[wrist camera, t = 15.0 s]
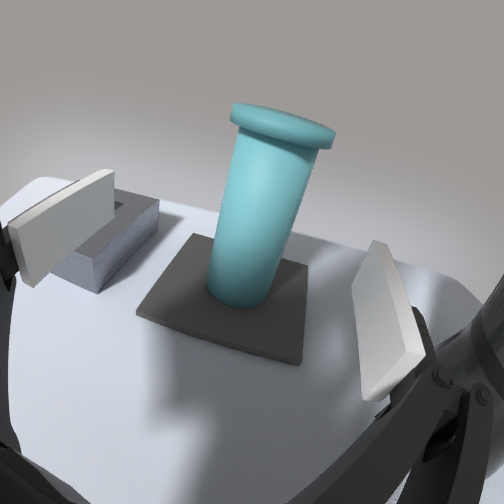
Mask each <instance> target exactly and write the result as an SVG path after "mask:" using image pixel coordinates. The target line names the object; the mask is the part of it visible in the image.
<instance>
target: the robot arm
mask: <svg viewBox="0 0 504 504" xmlns="http://www.w3.org/2000/svg"><path fill="white" fill-rule="evenodd" d="M114 218H115V215H114V171H113V170H108V169H102V170H100V171H98V172H96V173H94V174H92V175H90V176H88V177H86V178H84V179H82V180H80V181H78V182H76V183H74V184H73V185H71V186H69V187H67V188H65V189H64V190H62V191H60V192H58V193H56V194H55V195H53V196H51V197H50V198H48V199H46V200H45V201H43V202H41V203H40V204H38V205H36V206H35V207H33V208H32V209H30V210H28V211H27V212H25V213H24V214H22V215H21V216H19V217H18V218H16V219H15V220H13V221H12V222H10V223H9V224H7V226H6V227H4V228H3V229H2V226H1V222H0V504H90V503H89V502H88V501H87V500H86V499H84V498H83V497H82V496H81V495H80V494H79V493H78V492H77V491H76V490H74V489H73V488H72V487H71V486H70V485H68V484H66V483H65V482H63V481H62V480H60V479H59V478H57V477H56V476H54V475H53V474H51V473H50V472H48V471H47V470H45V469H44V468H42V467H40V466H39V465H37V464H35V463H34V462H32V461H31V460H29V459H27V458H26V457H24V456H23V455H22V454H21V448H20V444H19V441H18V438H17V436H16V434H15V432H14V430H13V428H12V426H11V422H10V414H9V399H8V350H9V335H10V324H11V315H12V307H13V300H14V293H15V287H16V277H15V274H16V273H17V272H18V271H19V272H20V275H21V278H22V281H23V282H24V283H26V284H27V285H29V286H31V287H32V288H34V287H35V286H36V285H37V284H38V283H39V282H40V281H41V280H42V279H43V278H44V277H45V276H46V275H47V274H49V273H50V272H51V271H52V270H53V269H54V268H55V267H56V266H57V265H58V264H59V263H61V262H62V261H63V260H64V259H65V258H66V257H67V256H69V255H70V254H71V253H72V252H73V251H74V250H75V249H77V248H78V247H79V246H80V245H81V244H83V243H84V242H85V241H86V240H87V239H89V238H90V237H91V236H92V235H93V234H95V233H96V232H97V231H98V230H100V229H101V228H102V227H103V226H105V225H106V224H107V223H108V222H110V221H111V220H112V219H114ZM351 289H352V296H353V304H354V312H355V320H356V329H357V338H358V348H359V360H360V373H361V389H362V400H367V401H375V402H381V401H382V400H383V399H384V398H385V397H386V396H387V395H388V394H389V393H390V401H391V403H389V404H388V405H387V406H386V407H385V408H384V409H383V410H382V411H380V412H379V413H378V414H377V415H376V416H375V418H376V419H375V420H374V421H373V423H372V424H371V425H370V426H369V427H368V428H367V429H366V431H365V432H364V433H363V434H362V435H361V436H360V437H359V438H358V439H357V440H356V441H355V442H354V443H353V445H352V446H351V447H350V448H349V449H348V450H347V451H346V452H345V453H344V454H343V455H342V456H341V457H340V458H339V459H338V460H337V461H336V462H334V463H333V464H332V465H331V466H330V467H329V468H328V469H327V470H326V471H325V472H324V473H323V474H322V475H320V476H319V477H318V478H317V479H316V480H315V481H314V482H312V483H311V484H310V485H309V486H308V487H306V488H305V489H304V490H303V491H302V492H300V493H299V494H298V495H297V496H295V497H294V498H293V499H292V500H290V501H289V502H288V503H286V504H385V503H386V502H387V500H388V499H389V498H390V497H391V495H392V494H393V493H394V491H395V490H396V489H397V487H398V486H399V485H400V483H401V482H402V481H403V479H404V478H405V476H406V475H407V473H408V472H409V470H410V469H411V471H410V473H409V476H408V478H407V481H406V483H405V486H404V488H403V490H402V492H401V495H400V497H399V499H398V501H397V503H396V504H479V501H480V497H481V493H482V489H483V485H484V480H485V479H487V478H488V477H490V476H491V475H492V474H494V473H495V472H496V471H497V470H498V469H499V468H500V467H501V466H502V465H503V464H504V275H503V276H502V278H501V280H500V281H499V283H498V284H497V286H496V288H495V289H494V291H493V292H492V294H491V295H490V297H489V298H488V300H487V301H486V302H485V304H484V305H483V307H482V308H481V310H480V311H479V312H478V314H477V315H476V316H475V318H474V319H473V320H472V322H471V323H470V324H469V325H468V326H467V327H465V328H464V329H462V330H461V331H459V332H458V333H456V334H455V335H453V336H452V337H450V338H448V339H447V340H445V341H444V342H442V343H440V344H439V345H437V346H436V347H434V348H433V344H432V341H431V338H430V337H429V332H428V329H426V328H427V326H426V323H425V320H424V317H423V316H422V314H421V313H420V312H419V310H418V309H417V308H416V307H413V306H411V305H410V302H409V300H408V297H407V294H406V291H405V288H404V286H403V283H402V280H401V278H400V275H399V273H398V270H397V268H396V265H395V263H394V260H393V258H392V255H391V253H390V250H389V248H388V246H387V244H384V243H381V242H378V241H375V240H373V241H372V243H371V245H370V247H369V250H368V252H367V254H366V256H365V258H364V260H363V262H362V264H361V266H360V268H359V270H358V272H357V275H356V277H355V279H354V281H353V283H352V284H351Z"/></svg>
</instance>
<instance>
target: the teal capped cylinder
mask: <svg viewBox="0 0 504 504" xmlns="http://www.w3.org/2000/svg"><path fill="white" fill-rule="evenodd" d="M230 121H231V122H233V123H234V124H236V125H238V126H240V127H239V131H238V135H237V140H236V143H235V147H234V152H233V156H232V160H231V165H230V169H229V173H228V178H227V182H226V187H225V191H224V196H223V201H222V205H221V210H220V214H219V219H218V224H217V229H216V233H215V238H214V243H213V248H212V253H211V259H210V264H209V269H208V274H207V280H206V284H207V288H208V290H209V292H210V293H211V294H212V295H213V296H214V297H215V298H216V299H217V300H219V301H220V302H222V303H224V304H226V305H229V306H232V307H237V308H250V307H255V306H257V305H259V304H261V303H262V302H263V301H264V300H265V299H266V297H267V294H268V292H269V289H270V286H271V284H272V281H273V278H274V276H275V273H276V270H277V268H278V265H279V262H280V260H281V257H282V254H283V251H284V249H285V246H286V243H287V240H288V237H289V235H290V232H291V229H292V226H293V224H294V221H295V218H296V215H297V212H298V209H299V206H300V204H301V201H302V198H303V195H304V192H305V189H306V186H307V183H308V180H309V178H310V175H311V171H312V169H313V166H314V163H315V160H316V157H317V154H318V151H319V149H331V147H332V144H333V141H334V138H335V135H336V132H335V131H334V130H332V129H330V128H328V127H326V126H324V125H322V124H319V123H317V122H314V121H311V120H309V119H306V118H303V117H300V116H297V115H294V114H290V113H287V112H283V111H279V110H276V109H272V108H267V107H263V106H258V105H252V104H244V103H234V104H233V108H232V112H231V116H230Z"/></svg>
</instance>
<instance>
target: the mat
mask: <svg viewBox="0 0 504 504" xmlns="http://www.w3.org/2000/svg"><path fill="white" fill-rule="evenodd" d="M213 243H214V239H213V238H209V237H206V236H202V235H199V234H195V233H193V234H192V235H191V236H190V238H189V239H188V240H187V242H186V243H185V244H184V245H183V247H182V248H181V249H180V251H179V252H178V253H177V255H176V256H175V257H174V259H173V260H172V261H171V263H170V264H169V265H168V267H167V268H166V269H165V271H164V272H163V273H162V275H161V276H160V277H159V279H158V280H157V282H156V283H155V284H154V286H153V287H152V288H151V290H150V291H149V293H148V294H147V295H146V297H145V298H144V300H143V301H142V302H141V304H140V305H139V307H138V308H137V310H136V315H137V316H140V317H143V318H145V319H148V320H150V321H153V322H156V323H158V324H161V325H164V326H167V327H169V328H172V329H175V330H178V331H181V332H184V333H187V334H189V335H192V336H195V337H199V338H202V339H205V340H208V341H211V342H214V343H217V344H221V345H224V346H227V347H230V348H234V349H237V350H241V351H244V352H248V353H251V354H255V355H259V356H262V357H266V358H270V359H274V360H278V361H282V362H286V363H290V364H294V365H300V363H301V360H302V349H303V336H304V322H305V307H306V289H307V268H308V266H307V265H304V264H300V263H297V262H293V261H290V260H286V259H283V258H281V260H280V262H279V265H278V268H277V270H276V273H275V276H274V278H273V281H272V284H271V286H270V289H269V292H268V294H267V297H266V299H265V300H264V301H263V302H262V303H261V304H259V305H257V306H255V307H250V308H237V307H232V306H229V305H226V304H224V303H222V302H220V301H219V300H217V299H216V298H215V297H214V296H213V295H212V294H211V293H210V292H209V290H208V288H207V284H206V280H207V274H208V269H209V264H210V259H211V253H212V248H213Z"/></svg>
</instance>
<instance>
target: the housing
mask: <svg viewBox="0 0 504 504" xmlns="http://www.w3.org/2000/svg"><path fill="white" fill-rule="evenodd" d="M78 181H80V180H78ZM78 181H76V182H78ZM76 182H74V183H76ZM74 183H72V184H70V185H68V186H66V187H65V188H67V187H69V186H71V185H73V184H74ZM65 188H63V189H61V190H59V191H57V192H56V193H58V192H60V191H62V190H64V189H65ZM56 193H54V194H52V195H51V196H53V195H55V194H56ZM51 196H49V197H47V198H45V199H44V200H42V201H40V202H39V203H37V204H35V205H34V206H32V207H31V208H29V209H27V210H26V211H24V212H23V213H21V214H20V215H18V216H17V217H15V218H14V219H12V220H11V221H9V222H8V224H9V223H10V222H12V221H13V220H15V219H16V218H18V217H19V216H21V215H22V214H24V213H25V212H27V211H28V210H30V209H32V208H33V207H35V206H36V205H38V204H40V203H41V202H43V201H45V200H46V199H48V198H50V197H51ZM159 201H160V200H159V199H155V198H151V197H147V196H143V195H139V194H135V193H131V192H127V191H123V190H119V189H115V188H114V215H115V218H114V219H112V220H111V221H110V222H108V223H107V224H106V225H105V226H103V227H102V228H101V229H100V230H98V231H97V232H96V233H95V234H93V235H92V236H91V237H90V238H89V239H87V240H86V241H85V242H84V243H83V244H81V245H80V246H79V247H78V248H77V249H75V250H74V251H73V252H72V253H71V254H70V255H69V256H67V257H66V258H65V259H64V260H63V261H62V262H61V263H59V264H58V265H57V266H56V267H55V268H54V269H53V270H52V271H51V273H53V274H55V275H57V276H59V277H61V278H63V279H65V280H67V281H69V282H71V283H73V284H76V285H78V286H80V287H82V288H84V289H87V290H89V291H91V292H93V293H96V294H98V293H99V292H100V290H101V289H102V288H103V287H104V286H105V285H106V284H107V283H108V281H109V280H110V279H111V278H112V277H113V276H114V275H115V274H116V273H117V271H118V270H119V269H120V268H121V267H122V266H123V265H124V264H125V263H126V262H127V261H128V260H129V259H130V257H131V256H132V255H133V254H134V253H135V252H136V251H137V250H138V249H139V248H140V247H141V246H142V245H143V244H144V243H145V242H146V241H147V240H148V239H149V238H150V237H151V236H152V235H153V234H154V233H155V232H156V231H157V230H158V216H159Z"/></svg>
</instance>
